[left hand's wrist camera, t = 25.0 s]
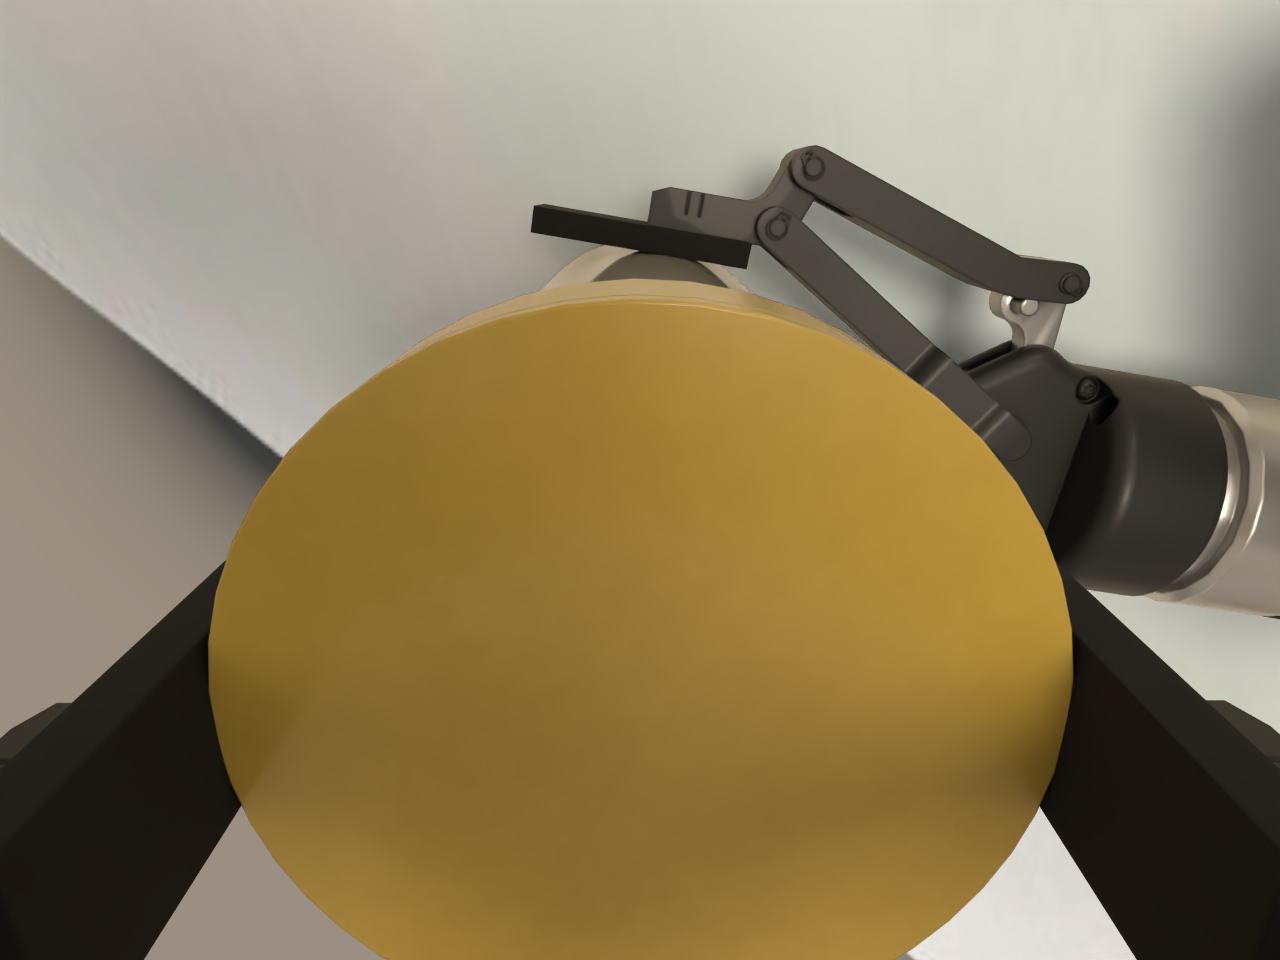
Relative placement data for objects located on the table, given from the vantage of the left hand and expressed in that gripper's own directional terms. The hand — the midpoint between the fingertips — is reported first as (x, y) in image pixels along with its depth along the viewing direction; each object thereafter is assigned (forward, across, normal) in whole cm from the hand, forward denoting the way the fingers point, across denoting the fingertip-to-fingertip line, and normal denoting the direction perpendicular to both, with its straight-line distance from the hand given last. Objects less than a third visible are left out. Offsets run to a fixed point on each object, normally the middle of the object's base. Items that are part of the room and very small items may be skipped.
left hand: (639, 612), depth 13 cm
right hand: (+14, -4, 0) cm, 15 cm away
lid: (-3, 0, 0) cm, 3 cm away
